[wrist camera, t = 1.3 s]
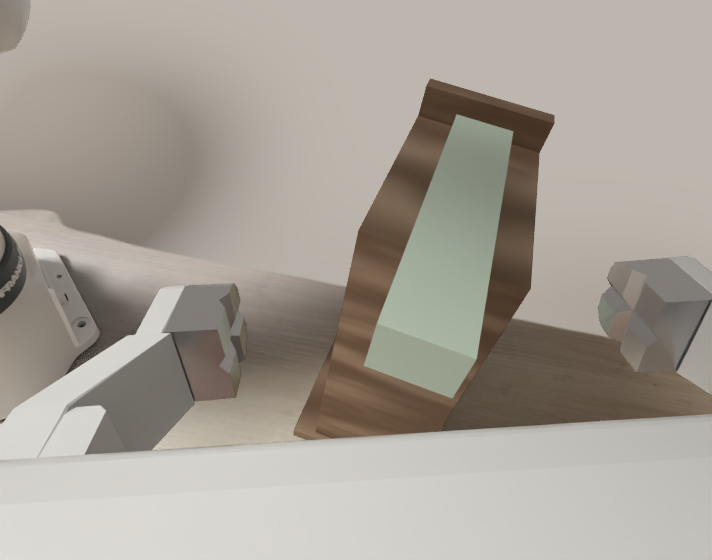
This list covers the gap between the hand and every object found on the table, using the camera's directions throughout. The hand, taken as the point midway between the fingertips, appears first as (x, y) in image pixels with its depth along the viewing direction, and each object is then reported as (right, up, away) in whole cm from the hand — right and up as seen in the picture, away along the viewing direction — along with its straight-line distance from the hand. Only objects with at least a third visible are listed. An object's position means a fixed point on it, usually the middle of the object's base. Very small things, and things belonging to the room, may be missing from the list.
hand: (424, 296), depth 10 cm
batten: (+4, +2, +17) cm, 17 cm away
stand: (+2, -12, +40) cm, 42 cm away
